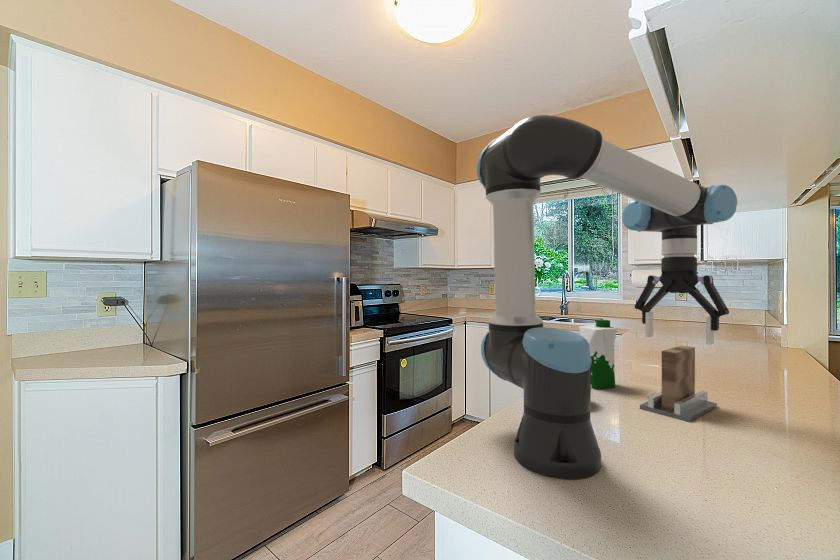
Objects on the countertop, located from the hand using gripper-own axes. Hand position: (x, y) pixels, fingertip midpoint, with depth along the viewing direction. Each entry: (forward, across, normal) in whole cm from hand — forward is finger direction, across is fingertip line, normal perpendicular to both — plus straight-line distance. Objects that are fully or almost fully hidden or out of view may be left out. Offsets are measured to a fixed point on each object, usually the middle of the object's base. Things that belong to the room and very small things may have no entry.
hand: (677, 340), depth 97 cm
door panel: (+16, 0, 0) cm, 16 cm away
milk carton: (+18, +23, -3) cm, 29 cm away
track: (+17, 0, 0) cm, 17 cm away
